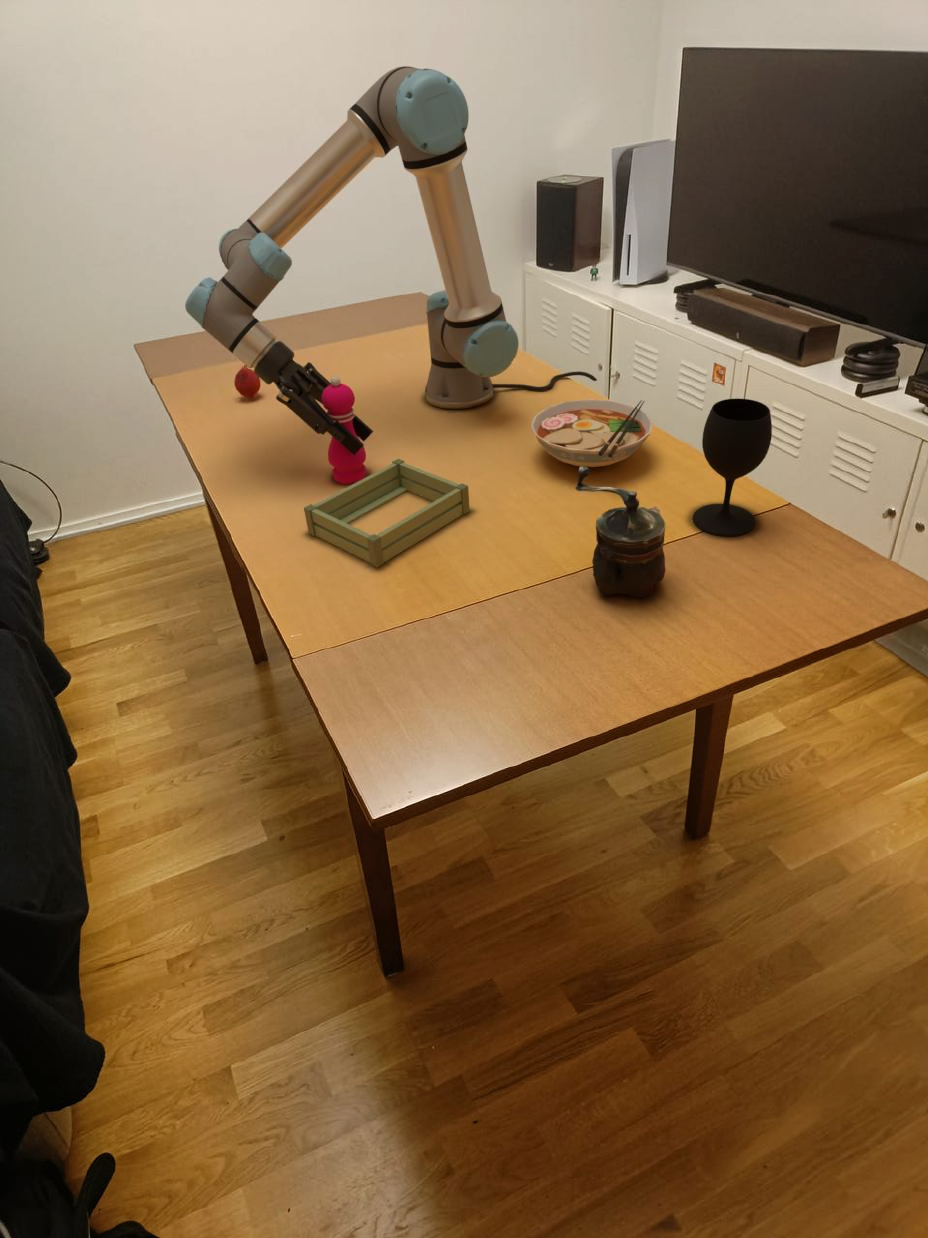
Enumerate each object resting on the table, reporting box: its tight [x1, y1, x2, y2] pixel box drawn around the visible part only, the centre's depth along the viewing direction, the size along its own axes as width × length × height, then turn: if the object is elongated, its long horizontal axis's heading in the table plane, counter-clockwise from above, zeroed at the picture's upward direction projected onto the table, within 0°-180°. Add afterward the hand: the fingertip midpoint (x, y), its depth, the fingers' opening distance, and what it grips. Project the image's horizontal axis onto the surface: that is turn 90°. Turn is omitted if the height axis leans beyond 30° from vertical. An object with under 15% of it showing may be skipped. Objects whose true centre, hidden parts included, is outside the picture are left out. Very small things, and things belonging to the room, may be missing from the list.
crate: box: [303, 458, 471, 569], centre depth 147 cm, size 23×18×5 cm
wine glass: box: [692, 398, 773, 538], centre depth 137 cm, size 10×10×20 cm
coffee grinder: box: [574, 466, 666, 599], centre depth 125 cm, size 13×15×18 cm
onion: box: [233, 363, 261, 400], centre depth 195 cm, size 6×6×8 cm
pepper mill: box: [321, 375, 367, 485], centre depth 157 cm, size 7×7×20 cm
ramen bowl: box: [530, 398, 653, 468], centre depth 161 cm, size 25×23×8 cm
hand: (363, 442), depth 158 cm, fingers closed on pepper mill, 5 cm apart
